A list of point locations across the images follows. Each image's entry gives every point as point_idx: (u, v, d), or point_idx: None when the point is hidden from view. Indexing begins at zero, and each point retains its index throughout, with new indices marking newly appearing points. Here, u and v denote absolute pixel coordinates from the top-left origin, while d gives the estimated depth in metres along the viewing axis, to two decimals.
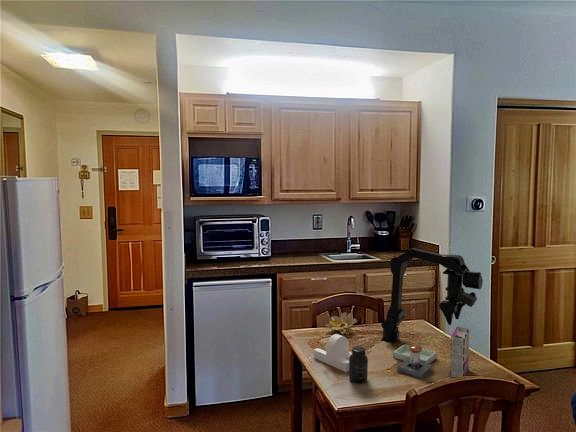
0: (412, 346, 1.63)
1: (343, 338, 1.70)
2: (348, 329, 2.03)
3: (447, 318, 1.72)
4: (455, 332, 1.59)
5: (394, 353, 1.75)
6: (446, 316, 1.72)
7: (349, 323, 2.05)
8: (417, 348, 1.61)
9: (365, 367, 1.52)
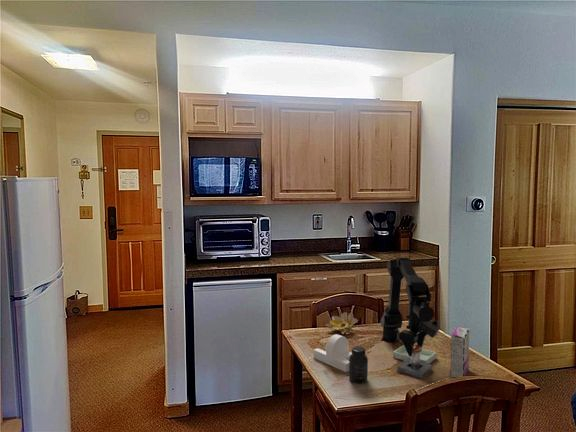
0: None
1: (343, 338, 1.70)
2: (349, 329, 2.03)
3: (407, 349, 1.58)
4: (455, 332, 1.59)
5: (394, 353, 1.75)
6: (406, 347, 1.58)
7: (350, 323, 2.06)
8: (417, 348, 1.61)
9: (365, 367, 1.52)
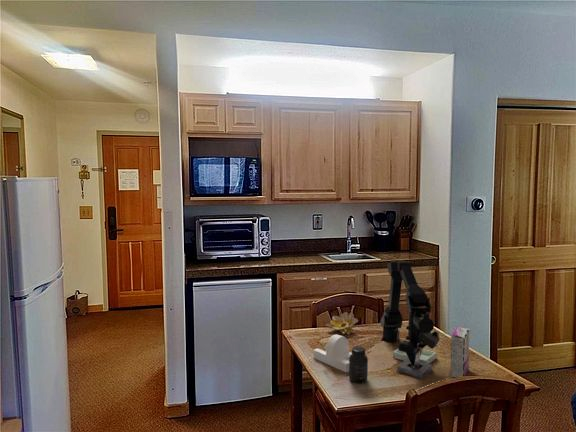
0: None
1: (343, 338, 1.70)
2: (349, 329, 2.03)
3: (410, 358, 1.61)
4: (455, 332, 1.59)
5: (394, 353, 1.75)
6: (409, 356, 1.60)
7: (350, 323, 2.06)
8: None
9: (365, 367, 1.52)
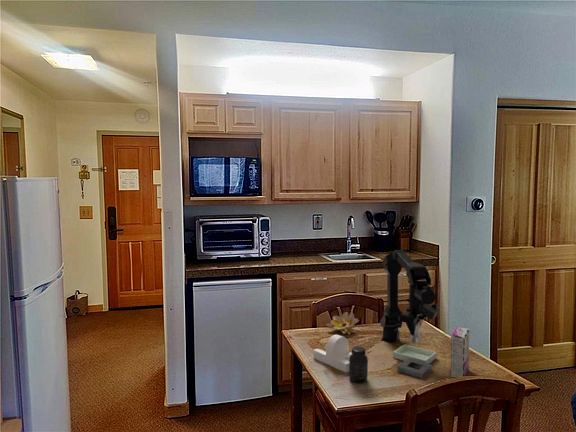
0: None
1: (343, 338, 1.70)
2: (349, 329, 2.03)
3: (410, 329, 1.68)
4: (455, 332, 1.59)
5: (394, 353, 1.75)
6: (409, 327, 1.67)
7: (350, 323, 2.06)
8: (417, 319, 1.67)
9: (365, 367, 1.52)
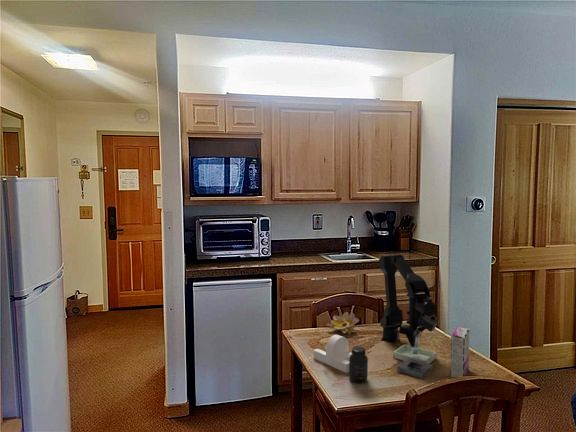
0: None
1: (343, 339, 1.70)
2: (350, 329, 2.03)
3: (410, 341, 1.72)
4: (455, 332, 1.59)
5: (394, 353, 1.75)
6: (409, 339, 1.72)
7: (351, 323, 2.06)
8: (417, 331, 1.72)
9: (365, 367, 1.52)
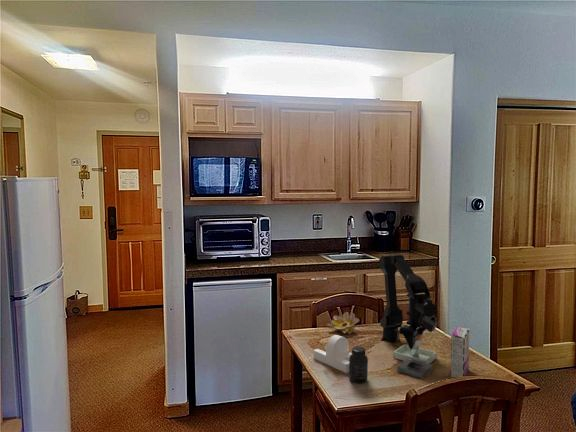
0: None
1: (343, 339, 1.70)
2: (350, 328, 2.04)
3: (408, 342, 1.71)
4: (455, 332, 1.59)
5: (394, 353, 1.75)
6: (407, 340, 1.71)
7: (351, 322, 2.06)
8: (417, 335, 1.72)
9: (365, 367, 1.52)
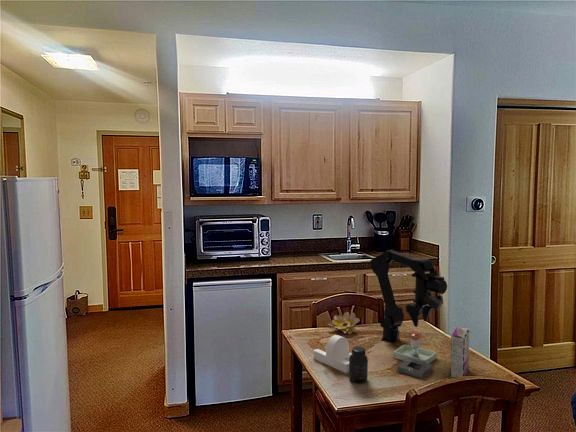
0: (412, 333, 1.75)
1: (343, 339, 1.69)
2: (351, 328, 2.04)
3: (413, 320, 1.77)
4: (455, 332, 1.59)
5: (394, 353, 1.75)
6: (412, 318, 1.76)
7: (352, 322, 2.06)
8: (417, 335, 1.73)
9: (365, 367, 1.52)
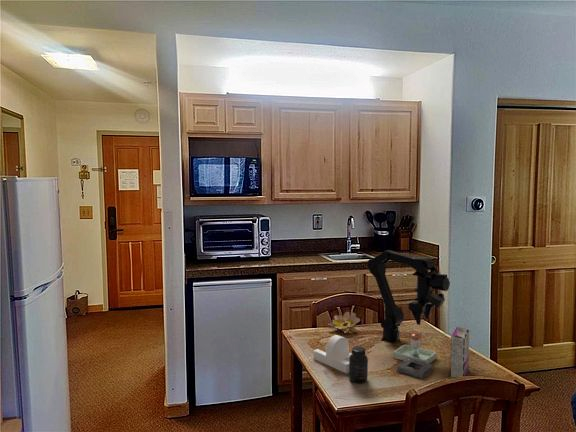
0: (412, 333, 1.75)
1: (343, 339, 1.69)
2: (351, 328, 2.04)
3: (416, 318, 1.78)
4: (455, 332, 1.59)
5: (394, 353, 1.75)
6: (415, 316, 1.78)
7: (352, 322, 2.07)
8: (417, 335, 1.73)
9: (365, 367, 1.52)
